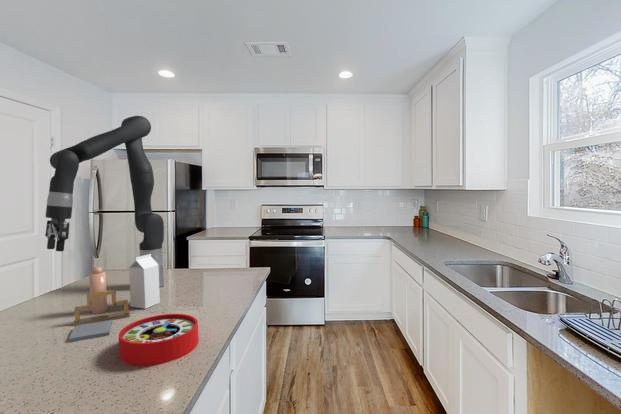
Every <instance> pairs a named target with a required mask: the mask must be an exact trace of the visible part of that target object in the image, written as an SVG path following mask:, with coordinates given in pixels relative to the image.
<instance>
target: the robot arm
mask: <svg viewBox="0 0 621 414" xmlns="http://www.w3.org/2000/svg"><path fill="white" fill-rule="evenodd" d="M151 130H152V124H151V122H150V120H149V119H148V118H147V117H145V116H142V115H133V116H128V117H126V118H124V119H123V120H122V121H121V125H120V126H118V127H116V128H114V129H111V130H109V131H106V132H102V133H100V134H97V135H94V136H92V137H89V138H87V139H85V140H83V141H80V142H78V143H77V144H75V145H72V146H69V147H65V148H64V149H60V150H58V151H56V152H54V153H53V154H52V155H50V158H49V163H50V165H51V167H52V168H53V169H55V170H54V175H53V176H52V177H51V179H49V180H50V181H49V188H48V189H49V190H48V194H47V199H46V207H45V208H46V209H45V218H47V219H50V220H47V221H46V229H45V237H46V239H47V244H46V248H47V250H54V249H55V252H64V250H65V243H66V240H68V239H69V234H70V222H69V221H66V220H71V219H72V214H73V204H74V186H75V185H74V183H75V180H76V177H77V175H78V171H79V168H80V163H82V162H86V161H89V160H90V161H91V160H92V159H94V158H97V157H99V156H101V155H103V154H104V153H106V152H109V151H111V150H113V149H114V148H116V147H118V146H120V145H122V144H124V145H125V149H126V157H127V162H128V163H127V164H128V170H129V176H130V178H129V179H130V184H131V191H132V197H133V204H134V205H133V206H134V224H135V227H136V230H137V231H138V232H140V233H143V240H142V241H141V242H139V245H138V246H139V256H144V255H148V254H151V257H152V258H153V259H154V260H155V261H156V262H157V264H158V269H159V288H160V287H162V288H163V287H164V286H165V282H164V279H165V277H164V264H163V261H164V260H163V244H164V239H165V223H164V222H165V221H164V219H163V217H162V216H161V215H160V214H159V213H154V212H153V208H152V201H151V200H152V194H153V191H154V188H155V187H154V186H155V178H154V170H153V166H152V164H151V162H150V161H149V159H148V157H147V155H146V153H145V151H144V147H143V146H144V145H143V138H145V137H147V136H148V135H149V134H150V132H151Z"/></svg>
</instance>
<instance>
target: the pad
mask: <svg viewBox="0 0 621 414" xmlns="http://www.w3.org/2000/svg"><path fill="white" fill-rule="evenodd" d="M112 323H113V320H107V321H101V322H95V323H88V324H82V325H76V326H74V327H73V330H72V331H71V334H70V336H69V338H68V343H72V342H77V341H82V340H88V339H95V338H99V337H100V338H101V337H105V336H110V333H111V329H112V325H113V324H112Z"/></svg>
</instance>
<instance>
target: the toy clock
mask: <svg viewBox="0 0 621 414" xmlns="http://www.w3.org/2000/svg"><path fill="white" fill-rule="evenodd" d="M198 345H199V322H198V319H197V318H196V317H195V316H192V315H190V314H187V313H186V314H185V313H166V314H165V313H164V314H159V315H153V316H149V317H148V316H147V317H145V318H142V319H138V320H136V321H134V322H131V323H129V324H128V325H125V326H124V327H123V328H122V329H121V330H120V331H119V333H118V353H119V354H118V357H119V359H120V361H121V362H122V363H124V364H126V365H129V366H137V367H139V366H140V367H145V366H146V367H148V366H156V365H162V364H166V363H170V362H173V361H175V360H178V359H181V358H183V357H185V356H186V355H187V356H188V355H189V354H190V353H191V352H193V351H194V350H195V349H196V348H197V346H198Z"/></svg>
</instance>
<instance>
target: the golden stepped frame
mask: <svg viewBox="0 0 621 414" xmlns="http://www.w3.org/2000/svg"><path fill="white" fill-rule="evenodd" d="M116 292H117V290H116V289H109V290H106V291H100V292H92V293H90V292H88V293H86V304H85V305H79V306H78V305H77V306H74V320H73V323H72V326H74V327H75V326H80V325H86V324H92V323H98V322H104V321H111V320H112V321H113V320H119V319H124V318H130V317H131V311H130V310H129V299H127V298H126V299H122V300H121V299H120V300H117V293H116ZM104 295H107V296H108V295H110V296H111V306H112V307H114V306H121V305H123V311H122V312H116V313H110V314H104V315H96V316H91V317H84V318H83V317H82V318H81V312H82V311H88V310H91V309H92V297H96V296H104Z"/></svg>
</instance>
